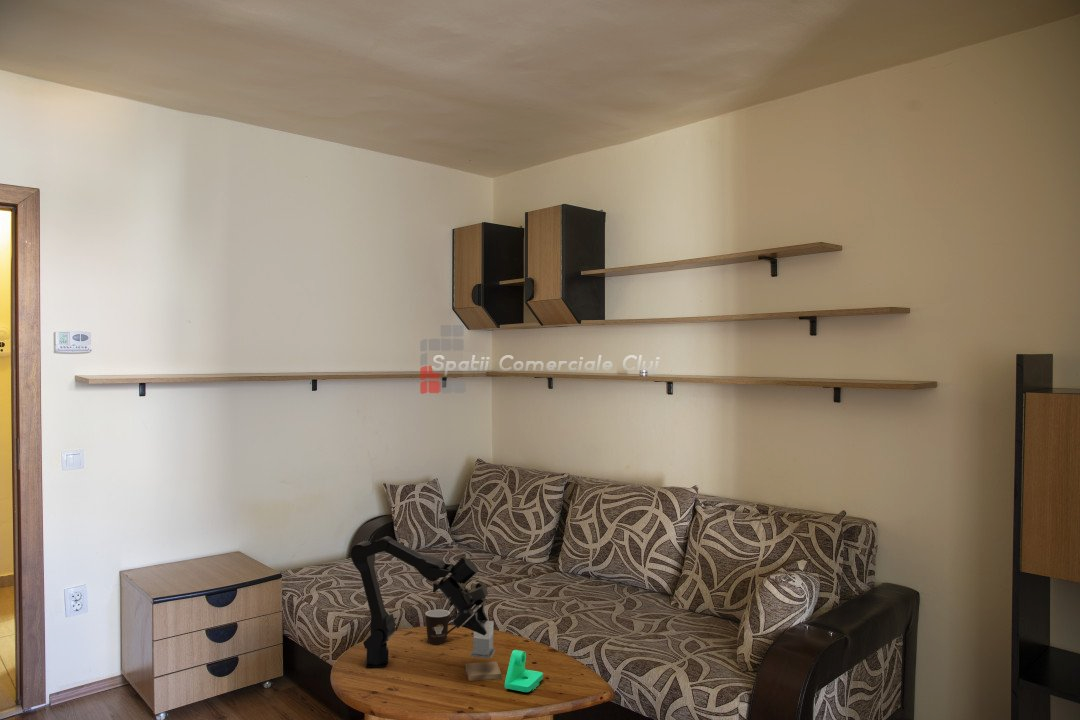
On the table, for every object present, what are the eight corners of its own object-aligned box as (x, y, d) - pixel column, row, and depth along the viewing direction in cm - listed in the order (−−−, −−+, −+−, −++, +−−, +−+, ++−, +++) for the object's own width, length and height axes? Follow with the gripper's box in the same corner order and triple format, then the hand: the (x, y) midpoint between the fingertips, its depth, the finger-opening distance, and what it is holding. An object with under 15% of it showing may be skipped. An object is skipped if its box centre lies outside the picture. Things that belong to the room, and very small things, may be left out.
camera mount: (528, 696, 214) (528, 660, 214) (504, 691, 217) (505, 656, 217) (543, 681, 225) (544, 647, 225) (521, 677, 228) (521, 643, 228)
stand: (469, 680, 224) (469, 675, 224) (465, 668, 234) (465, 663, 234) (501, 678, 226) (501, 673, 226) (496, 666, 236) (496, 661, 236)
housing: (470, 656, 227) (471, 625, 228) (475, 649, 234) (476, 619, 234) (490, 658, 226) (491, 627, 226) (495, 651, 232) (496, 620, 233)
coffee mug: (421, 645, 254) (421, 616, 254) (429, 636, 262) (429, 608, 262) (453, 647, 252) (454, 618, 252) (460, 639, 260) (460, 610, 260)
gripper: (464, 584, 222) (499, 624, 220) (480, 569, 241) (512, 605, 238) (439, 608, 223) (473, 648, 221) (456, 591, 242) (488, 628, 239)
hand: (487, 631), depth 230 cm, fingers closed on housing, 5 cm apart
